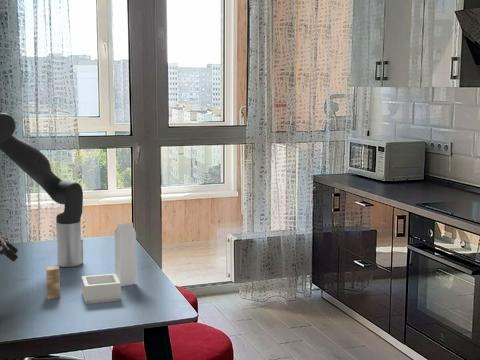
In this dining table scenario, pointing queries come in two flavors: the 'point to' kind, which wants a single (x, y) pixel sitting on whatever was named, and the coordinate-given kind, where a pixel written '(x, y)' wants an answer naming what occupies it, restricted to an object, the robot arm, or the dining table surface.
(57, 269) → the beech post
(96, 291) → the white well
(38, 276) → the dining table surface
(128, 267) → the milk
